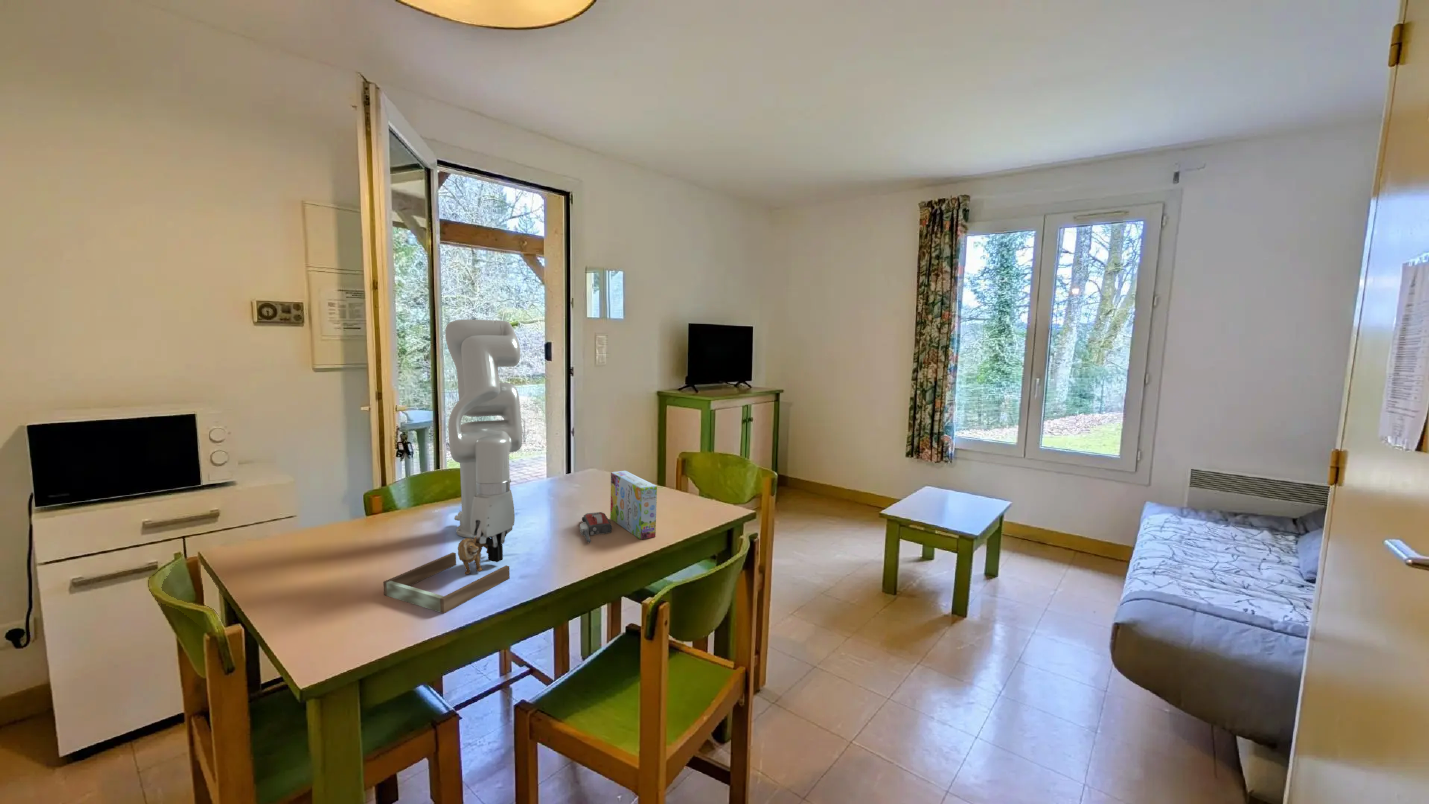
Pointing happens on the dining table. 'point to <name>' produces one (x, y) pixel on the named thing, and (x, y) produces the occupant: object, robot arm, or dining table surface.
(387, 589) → the u-shaped wooden rail
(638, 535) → the snack box
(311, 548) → the dining table surface
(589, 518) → the walkie-talkie
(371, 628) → the dining table surface
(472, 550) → the lion figurine
